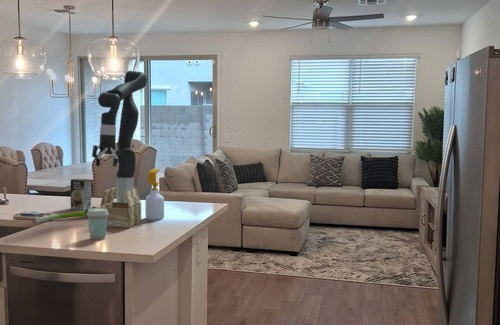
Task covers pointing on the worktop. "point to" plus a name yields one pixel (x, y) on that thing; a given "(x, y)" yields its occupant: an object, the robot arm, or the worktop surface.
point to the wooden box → (122, 214)
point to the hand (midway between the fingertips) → (106, 166)
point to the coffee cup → (97, 223)
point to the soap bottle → (154, 199)
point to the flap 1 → (108, 196)
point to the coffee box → (80, 194)
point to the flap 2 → (132, 197)
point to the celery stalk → (63, 216)
